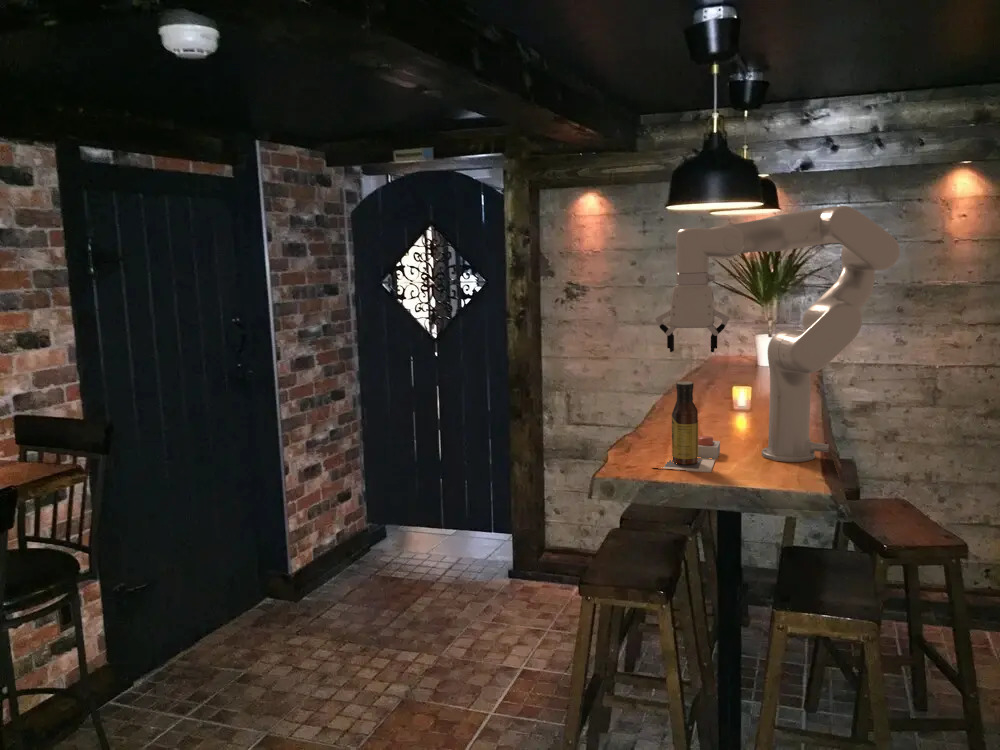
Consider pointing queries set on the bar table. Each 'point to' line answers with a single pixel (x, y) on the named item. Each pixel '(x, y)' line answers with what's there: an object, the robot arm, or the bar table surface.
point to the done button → (705, 440)
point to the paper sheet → (693, 465)
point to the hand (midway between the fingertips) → (692, 351)
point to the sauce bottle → (685, 426)
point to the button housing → (709, 450)
